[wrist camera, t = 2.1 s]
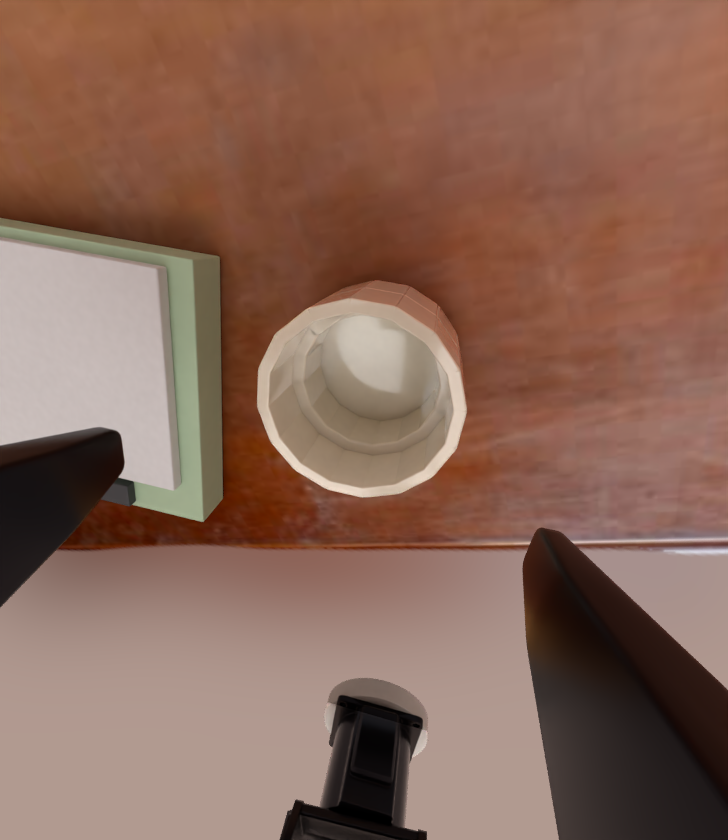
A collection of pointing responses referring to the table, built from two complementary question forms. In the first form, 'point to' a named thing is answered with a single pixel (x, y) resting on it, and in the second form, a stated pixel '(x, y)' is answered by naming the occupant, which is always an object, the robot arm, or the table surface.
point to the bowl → (365, 390)
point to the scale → (116, 357)
